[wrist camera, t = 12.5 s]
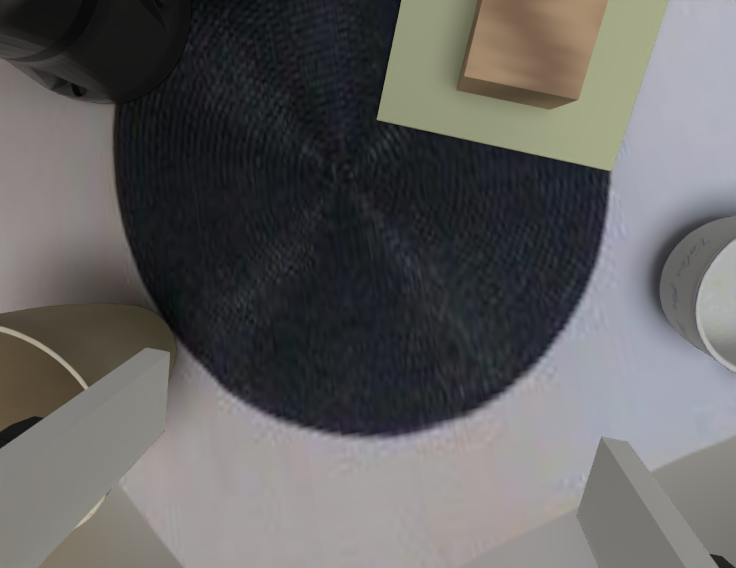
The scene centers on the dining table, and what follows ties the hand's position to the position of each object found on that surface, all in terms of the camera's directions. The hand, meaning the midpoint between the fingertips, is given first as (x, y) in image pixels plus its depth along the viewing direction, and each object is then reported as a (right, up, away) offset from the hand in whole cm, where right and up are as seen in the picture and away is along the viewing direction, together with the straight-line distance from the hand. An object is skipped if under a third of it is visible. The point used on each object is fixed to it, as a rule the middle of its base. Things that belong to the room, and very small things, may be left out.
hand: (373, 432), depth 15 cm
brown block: (+9, +17, +19) cm, 27 cm away
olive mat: (+11, +24, +22) cm, 34 cm away
